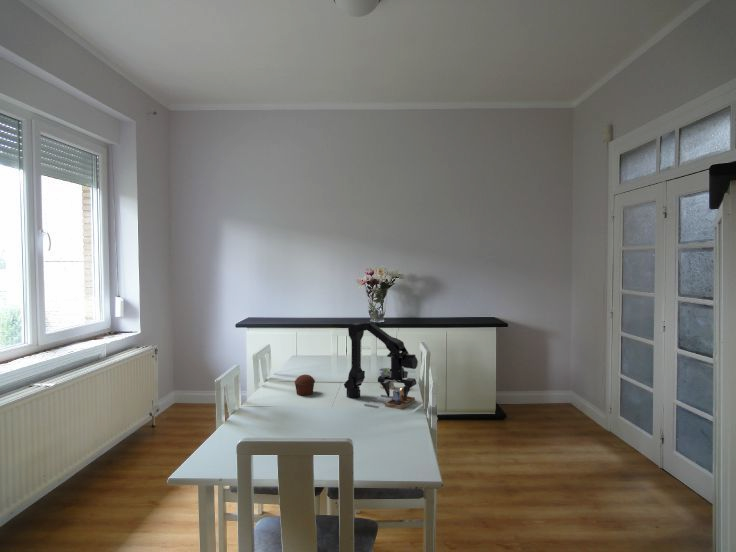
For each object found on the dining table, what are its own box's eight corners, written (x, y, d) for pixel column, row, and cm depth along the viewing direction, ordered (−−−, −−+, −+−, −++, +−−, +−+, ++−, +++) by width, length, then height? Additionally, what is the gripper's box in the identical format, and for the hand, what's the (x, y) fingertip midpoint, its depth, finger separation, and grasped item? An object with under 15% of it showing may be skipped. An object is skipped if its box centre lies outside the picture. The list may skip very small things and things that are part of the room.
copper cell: (398, 401, 231) (398, 387, 231) (401, 399, 234) (401, 385, 234) (405, 402, 229) (405, 388, 229) (408, 400, 233) (408, 386, 232)
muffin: (311, 397, 243) (310, 378, 242) (291, 396, 245) (291, 377, 245) (317, 390, 254) (317, 373, 254) (299, 389, 257) (298, 372, 256)
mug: (378, 386, 262) (378, 368, 262) (394, 385, 263) (394, 367, 263) (380, 392, 250) (380, 373, 250) (397, 391, 251) (397, 372, 251)
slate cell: (391, 405, 225) (391, 391, 224) (395, 403, 228) (395, 389, 227) (398, 406, 223) (398, 392, 223) (401, 404, 226) (401, 390, 226)
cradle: (364, 407, 225) (363, 403, 225) (381, 397, 241) (381, 394, 241) (376, 409, 222) (376, 406, 222) (393, 399, 237) (393, 396, 237)
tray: (384, 408, 224) (384, 403, 224) (399, 399, 238) (399, 394, 238) (401, 411, 219) (401, 406, 219) (415, 401, 233) (414, 397, 233)
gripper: (420, 365, 227) (420, 396, 227) (387, 361, 236) (387, 390, 237) (411, 369, 217) (411, 402, 218) (377, 365, 226) (377, 396, 227)
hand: (396, 397), depth 225 cm, fingers open, 9 cm apart
